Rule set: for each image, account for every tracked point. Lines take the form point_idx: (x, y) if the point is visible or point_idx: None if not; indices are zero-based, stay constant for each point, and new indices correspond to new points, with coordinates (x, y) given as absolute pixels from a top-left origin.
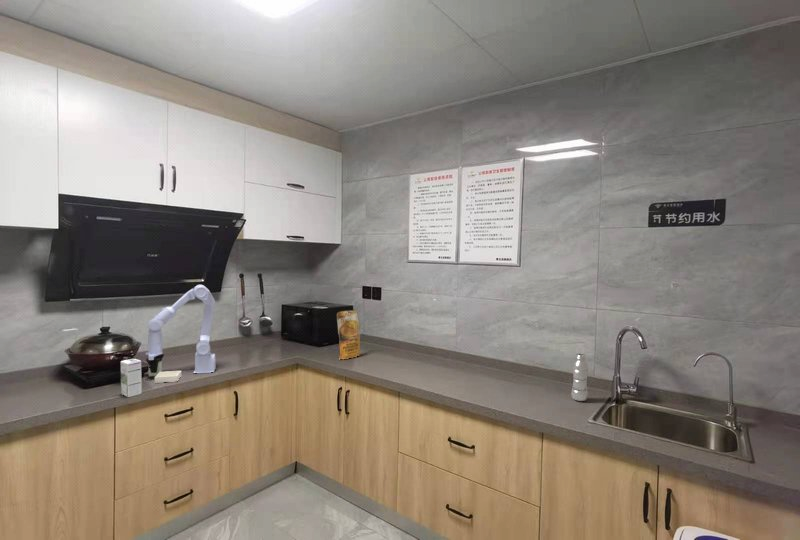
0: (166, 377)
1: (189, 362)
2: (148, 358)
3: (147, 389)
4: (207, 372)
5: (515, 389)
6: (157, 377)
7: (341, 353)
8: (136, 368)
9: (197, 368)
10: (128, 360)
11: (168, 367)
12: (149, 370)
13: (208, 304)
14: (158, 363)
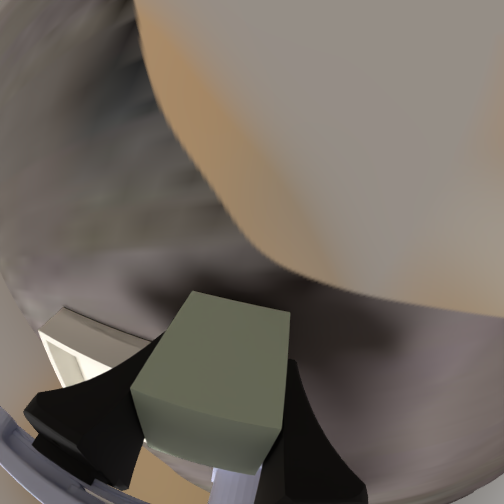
0: (60, 373)
1: (461, 432)
2: (67, 446)
3: (7, 270)
4: (212, 474)
5: (101, 498)
6: (43, 341)
7: None
8: None
9: (220, 480)
10: None
11: (456, 380)
12: (169, 333)
13: None
14: (147, 442)
